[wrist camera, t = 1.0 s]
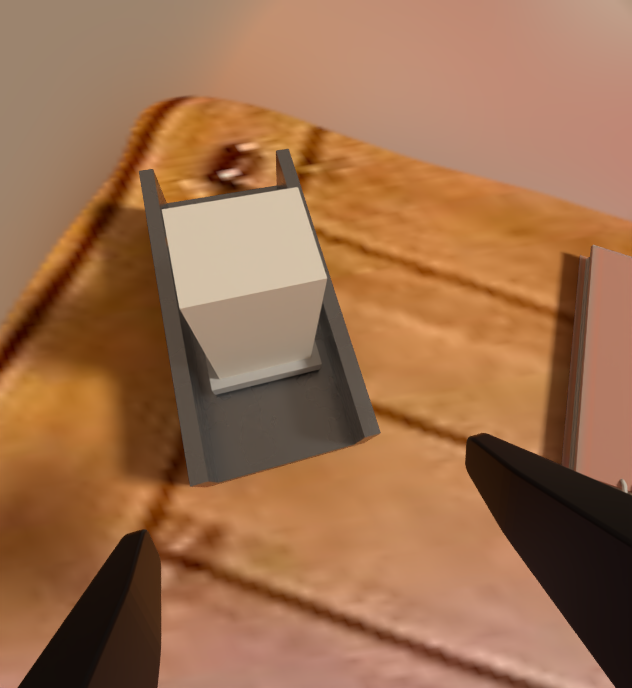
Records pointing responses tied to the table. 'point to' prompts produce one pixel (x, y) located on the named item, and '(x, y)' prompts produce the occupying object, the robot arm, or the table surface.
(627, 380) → the notebook
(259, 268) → the cream rectangular block
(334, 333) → the rail housing
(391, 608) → the table surface
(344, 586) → the table surface
